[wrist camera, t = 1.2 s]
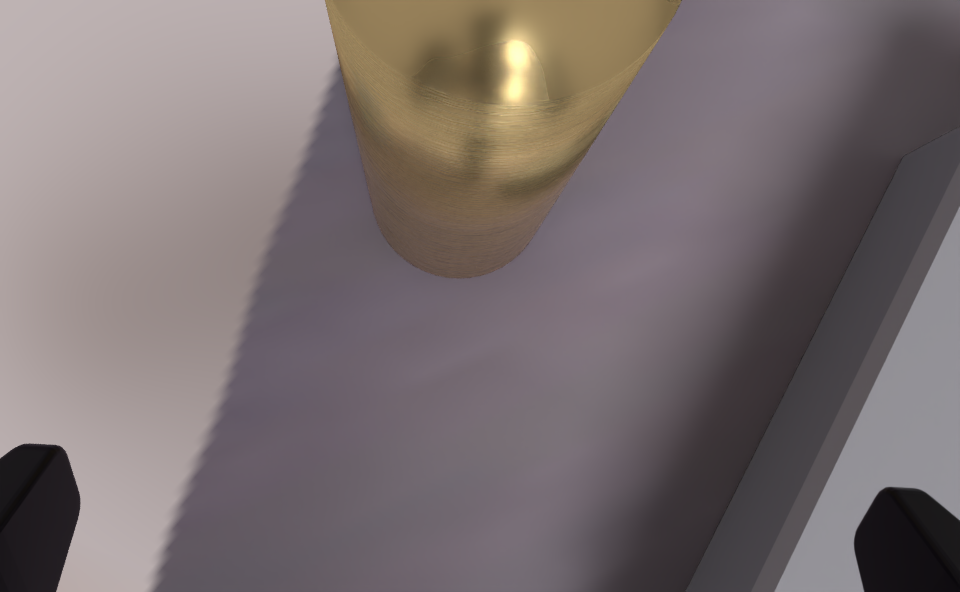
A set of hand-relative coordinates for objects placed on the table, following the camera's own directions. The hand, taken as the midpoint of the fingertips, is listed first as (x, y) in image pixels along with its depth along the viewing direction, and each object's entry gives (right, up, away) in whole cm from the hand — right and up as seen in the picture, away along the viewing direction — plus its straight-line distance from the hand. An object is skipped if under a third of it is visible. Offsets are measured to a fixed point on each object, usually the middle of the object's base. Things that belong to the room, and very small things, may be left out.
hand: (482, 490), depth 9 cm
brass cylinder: (-1, +5, +14) cm, 15 cm away
